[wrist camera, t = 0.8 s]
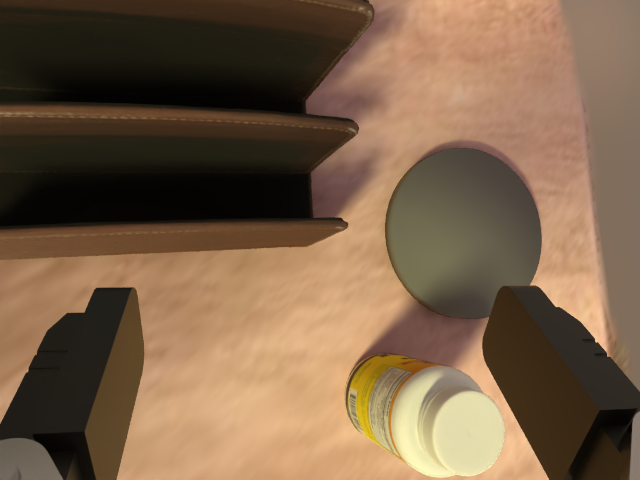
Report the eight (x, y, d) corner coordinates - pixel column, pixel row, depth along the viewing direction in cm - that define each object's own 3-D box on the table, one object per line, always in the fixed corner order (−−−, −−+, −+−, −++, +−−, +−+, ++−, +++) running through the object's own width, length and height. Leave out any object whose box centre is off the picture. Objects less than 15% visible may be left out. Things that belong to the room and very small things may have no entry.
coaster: (351, 219, 34) (358, 217, 33) (465, 121, 38) (474, 115, 37) (457, 353, 36) (466, 355, 34) (557, 246, 39) (569, 244, 38)
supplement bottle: (433, 385, 35) (539, 419, 25) (386, 454, 33) (480, 520, 24) (374, 333, 34) (461, 349, 24) (323, 403, 32) (395, 449, 23)
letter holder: (-45, 83, 28) (-228, -109, 15) (301, 99, 34) (393, -27, 21) (-43, 263, 27) (-237, 233, 14) (311, 247, 33) (414, 215, 20)
